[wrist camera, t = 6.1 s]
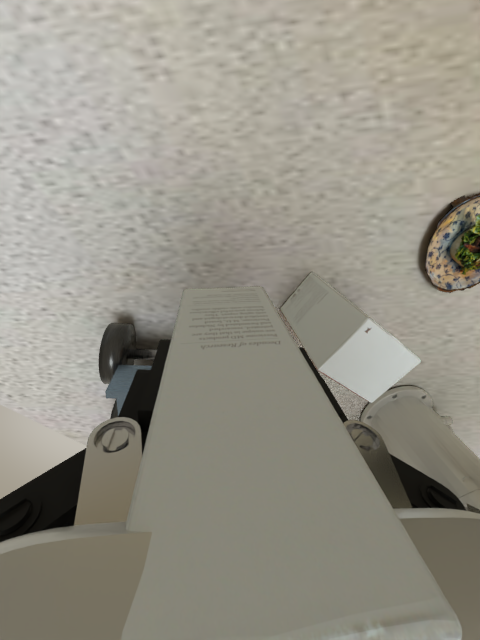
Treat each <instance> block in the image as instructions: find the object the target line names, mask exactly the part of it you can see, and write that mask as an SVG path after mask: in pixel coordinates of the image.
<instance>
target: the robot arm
mask: <svg viewBox="0 0 480 640" xmlns="http://www.w3.org/2000/svg"><path fill="white" fill-rule="evenodd" d="M170 342H171V340H162V339H161V340H160V343H159V346H158V349H157V352H156V355H155V358H154V361H153V364H152V367H151V370H147V369H138V370H137V371H136V373H135V376H134V378H133V381H132V383H131V386H130V388H129V391H128V393H127V396H126V398H125V401H124V403H123V406H122V408H121V411H120V413H119V416H118V417H116V418H113V419H109V420H107V421H105V422H103V423H101V424H100V425H98V426H97V427H96V428H95V429H94V430H93V431H92V433H91V434H90V436H89V439H88V442H87V448H85V449H84V450H82V451H80V452H79V453H77V454H75V455H74V456H72V457H71V458H69V459H67V460H65V461H64V462H62V463H60V464H59V465H57V466H55V467H54V468H52V469H50V470H48V471H47V472H45V473H43V474H42V475H40V476H39V477H37V478H35V479H33V480H32V481H30V482H28V483H27V484H25V485H23V486H22V487H20V488H18V489H17V490H15V491H13V492H11V493H10V494H8V495H7V496H5V497H3V498H2V499H0V640H121V637H122V632H123V629H124V626H125V623H126V620H127V617H128V614H129V611H130V608H131V605H132V602H133V599H134V597H135V594H136V591H137V588H138V585H139V582H140V579H141V576H142V573H143V570H144V566H145V561H146V557H147V553H148V548H149V544H150V540H151V536H152V532H134V531H128V530H126V529H125V527H126V521H127V517H128V512H129V508H130V504H131V500H132V496H133V491H134V487H135V483H136V479H137V475H138V471H139V467H140V463H141V459H142V455H143V451H144V447H145V443H146V439H147V435H148V431H149V426H150V422H151V418H152V414H153V410H154V406H155V402H156V399H157V395H158V391H159V387H160V383H161V379H162V374H163V371H164V366H165V362H166V358H167V354H168V350H169V346H170ZM298 348H299V349H300V351H301V353H302V355H303V356H304V358H305V360H306V361H307V363H308V365H309V367H310V368H311V370H312V371H313V373H314V375H315V377H316V378H317V380H318V382H319V383H320V385H321V387H322V388H323V390H324V392H325V394H326V395H327V397H328V399H329V401H330V402H331V404H332V406H333V407H334V409H335V411H336V412H337V414H338V416H339V417H340V419H341V421H342V422H343V424H344V426H345V428H346V430H347V431H348V433H349V435H350V436H351V438H352V440H353V442H354V443H355V445H356V447H357V448H358V450H359V452H360V453H361V455H362V457H363V459H364V460H365V462H366V464H367V465H368V467H369V469H370V470H371V472H372V474H373V475H374V477H375V479H376V481H377V482H378V484H379V486H380V487H381V489H382V491H383V492H384V494H385V496H386V498H387V499H388V501H389V503H390V504H391V506H392V508H393V509H394V511H395V513H396V514H397V516H398V518H399V520H400V521H401V523H402V525H403V526H404V528H405V530H406V532H407V533H408V535H409V537H410V538H411V540H412V542H413V544H414V545H415V547H416V549H417V550H418V552H419V554H420V555H421V557H422V559H423V560H424V562H425V564H426V565H427V567H428V569H429V570H430V572H431V574H432V575H433V577H434V579H435V581H436V582H437V584H438V586H439V587H440V589H441V591H442V593H443V594H444V596H445V598H446V599H447V601H448V602H449V604H450V606H451V607H452V609H453V610H454V612H455V613H456V615H457V617H458V620H459V622H460V625H461V627H462V639H461V640H480V459H479V458H478V457H477V456H476V455H475V454H474V453H473V452H472V451H471V450H470V449H469V448H468V447H467V446H466V445H465V444H464V443H463V442H462V441H461V440H460V439H459V438H458V437H457V436H456V435H455V434H454V433H453V429H452V428H451V427H450V426H449V425H451V424H453V420H452V418H451V417H449V416H441V417H440V416H439V415H438V414H437V413H436V412H435V411H434V410H433V401H432V399H431V397H430V396H429V395H428V394H427V393H426V392H425V391H424V390H423V389H421V388H418V387H414V386H402V387H397V388H393V389H390V390H388V391H386V392H384V393H383V394H382V395H381V396H380V397H378V398H377V399H376V400H375V401H374V402H372V403H369V404H368V405H367V407H366V408H365V409H364V411H363V413H362V416H361V419H360V421H357V420H348V419H347V417H346V416H345V414H344V412H343V411H342V409H341V408H340V406H339V404H338V403H337V401H336V399H335V398H334V396H333V394H332V393H331V391H330V389H329V388H328V386H327V384H326V383H325V381H324V379H323V378H322V377H321V376H320V375H319V373H318V371H317V370H316V368H315V366H314V365H313V363H312V361H311V360H310V358H309V356H308V355H307V353H306V351H305V350H304V348H301V347H298Z"/></svg>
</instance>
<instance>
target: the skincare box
mask: <svg viewBox="0 0 480 640" xmlns="http://www.w3.org/2000/svg"><path fill="white" fill-rule="evenodd" d="M125 529H126V530H128V531H134V532H152V536H151V540H150V544H149V548H148V553H147V557H146V561H145V566H144V570H143V573H142V576H141V579H140V582H139V585H138V588H137V591H136V594H135V597H134V599H133V602H132V605H131V608H130V611H129V614H128V617H127V620H126V623H125V626H124V629H123V632H122V637H121V640H461V639H462V627H461V625H460V622H459V620H458V617H457V615H456V613H455V612H454V610H453V609H452V607H451V606H450V604H449V602H448V601H447V599H446V598H445V596H444V594H443V593H442V591H441V589H440V587H439V586H438V584H437V582H436V581H435V579H434V577H433V575H432V574H431V572H430V570H429V569H428V567H427V565H426V564H425V562H424V560H423V559H422V557H421V555H420V554H419V552H418V550H417V549H416V547H415V545H414V544H413V542H412V540H411V538H410V537H409V535H408V533H407V532H406V530H405V528H404V526H403V525H402V523H401V521H400V520H399V518H398V516H397V514H396V513H395V511H394V509H393V508H392V506H391V504H390V503H389V501H388V499H387V498H386V496H385V494H384V492H383V491H382V489H381V487H380V486H379V484H378V482H377V481H376V479H375V477H374V475H373V474H372V472H371V470H370V469H369V467H368V465H367V464H366V462H365V460H364V459H363V457H362V455H361V453H360V452H359V450H358V448H357V447H356V445H355V443H354V442H353V440H352V438H351V436H350V435H349V433H348V431H347V430H346V428H345V426H344V424H343V422H342V421H341V419H340V417H339V416H338V414H337V412H336V411H335V409H334V407H333V406H332V404H331V402H330V401H329V399H328V397H327V395H326V394H325V392H324V390H323V388H322V387H321V385H320V383H319V382H318V380H317V378H316V377H315V375H314V373H313V371H312V370H311V368H310V367H309V365H308V363H307V361H306V360H305V358H304V356H303V355H302V353H301V351H300V349H299V348H298V346H297V344H296V343H295V341H294V339H293V338H292V336H291V334H290V332H289V331H288V329H287V327H286V326H285V324H284V322H283V321H282V319H281V317H280V315H279V314H278V312H277V311H276V309H275V307H274V305H273V304H272V302H271V300H270V299H269V297H268V295H267V294H266V292H265V290H264V289H263V287H260V286H252V287H232V288H202V289H185V290H184V291H183V294H182V298H181V302H180V306H179V310H178V315H177V319H176V322H175V326H174V330H173V335H172V339H171V342H170V346H169V350H168V354H167V358H166V362H165V366H164V371H163V374H162V379H161V383H160V387H159V391H158V395H157V399H156V402H155V406H154V410H153V414H152V418H151V422H150V426H149V431H148V435H147V439H146V443H145V447H144V451H143V455H142V459H141V463H140V467H139V471H138V475H137V479H136V483H135V487H134V491H133V496H132V500H131V504H130V508H129V512H128V517H127V521H126V527H125Z"/></svg>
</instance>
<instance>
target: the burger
mask: <svg viewBox="0 0 480 640" xmlns="http://www.w3.org/2000/svg"><path fill="white" fill-rule="evenodd" d="M451 204H452V205H453V206H454V207H453V208H452V210H450V211H449V212H448V213H447V214H446V215H445V216H444V217H443V218H442V219H441V220H440V222H439V223H438V226H437V229H436V231H435V233H434V234H433V236H432V237H431V239H430V242H429V245H428V249H427V253H426V265H425V270H426V273H427V274H428V276H429V278H430V280H431V281H432V284H433V285H434V286H436V287H437V288H438V289H437V290H440V291H442V292H450V293H451V292H453V291H455V290H464V289H466V288H471V287H473V286H475V285H477V284H478V283H480V194H476V195H475V196H472V197H467V198H465V196H463V197H461V198H458V199H457V200H454V201H453V202H451Z"/></svg>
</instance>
